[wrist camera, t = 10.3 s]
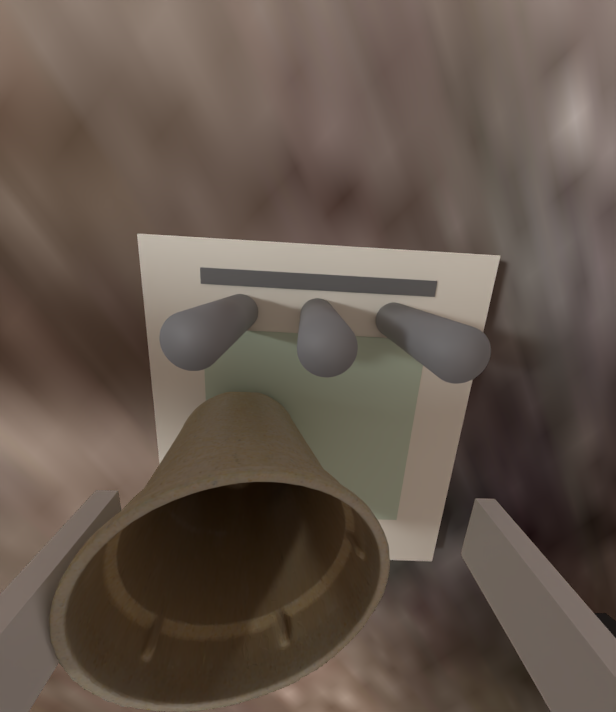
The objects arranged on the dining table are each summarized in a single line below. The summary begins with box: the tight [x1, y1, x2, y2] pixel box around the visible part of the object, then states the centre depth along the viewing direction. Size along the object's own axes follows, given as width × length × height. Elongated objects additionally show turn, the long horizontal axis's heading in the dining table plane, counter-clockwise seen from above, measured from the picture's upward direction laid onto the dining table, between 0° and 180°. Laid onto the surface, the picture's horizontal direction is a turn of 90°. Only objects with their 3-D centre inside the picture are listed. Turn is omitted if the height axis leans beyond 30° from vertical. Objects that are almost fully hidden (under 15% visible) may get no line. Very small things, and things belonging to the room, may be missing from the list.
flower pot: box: [49, 392, 390, 712], centre depth 12 cm, size 9×9×9 cm
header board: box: [137, 234, 500, 561], centre depth 14 cm, size 18×20×8 cm
